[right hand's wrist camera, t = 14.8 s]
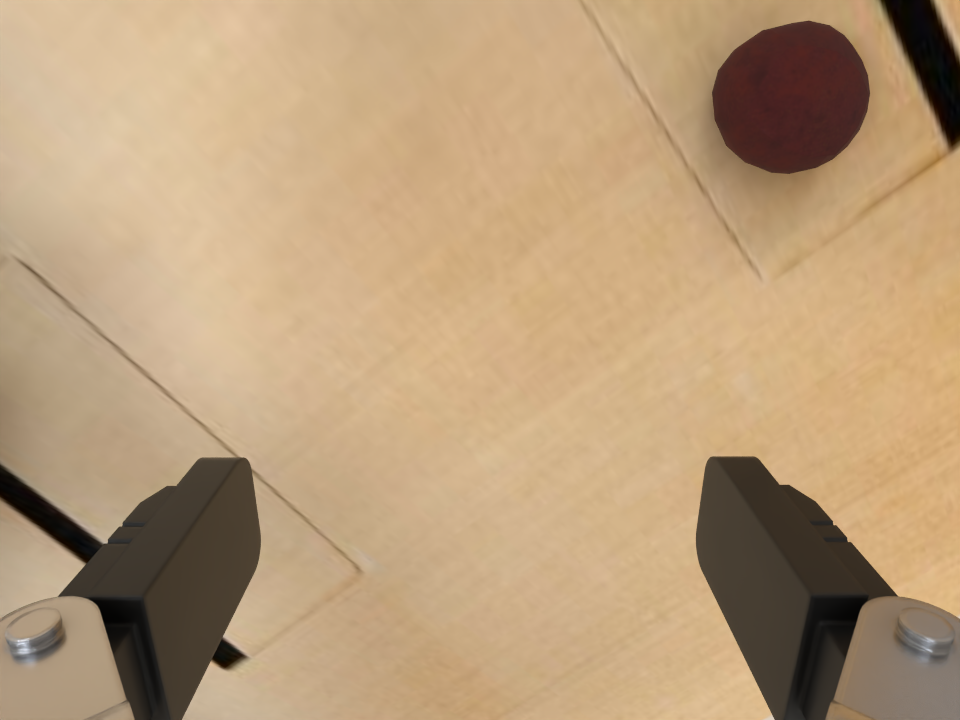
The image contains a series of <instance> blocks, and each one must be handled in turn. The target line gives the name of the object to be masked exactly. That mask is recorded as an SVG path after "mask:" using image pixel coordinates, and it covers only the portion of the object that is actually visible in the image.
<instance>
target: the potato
mask: <svg viewBox="0 0 960 720" xmlns="http://www.w3.org/2000/svg"><path fill="white" fill-rule="evenodd" d="M712 95H713V105H714V116H715V121H716V123H717V126H718V128H719V130H720V132H721V135H722V137H723V139H724V141H725V144H726V146H727V147H729V148H730V149H731V150H732V151H733V152H734V153H735V154H736V155H737V156H739V157H740V158H741V159H742V160H743V161H744V162H746V163H748V164H751V165H754V166H757V167H759V168H762V169H764V170H766V171H769V172H772V173H786V174H790V173H795V172H799V171H804V170H808V169H812V168H816V167H818V166H820V165H822V164H824V163H826V162H828V161H830V160H832V159H833V158H835V157H836V156H837V155H838V154H839V153H840V152H841V151H843V150H844V149H845V148H846V147H847V146H848V145H849V143H850V142H851V141H852V139H853V138H854V137H855V135H856V134H857V133H858V131H859V130H860V127H861V125H862V122H863V120H864V118H865V115H866V113H867V109H868V102H869V96H870V90H869V81H868V75H867V72H866V69H865V67H864V64H863V62H862V59H861V58H860V56H859V55H858V53H857V52H856V50H855V48H854V47H853V45H852V44H851V43H850V42H849V41H848V39H847V38H846V37H845V36H844V35H843V34H842V33H840V32H839V31H837V30H836V29H834V28H833V27H831V26H830V25H825V24H821V23H816V22H812V21H804V22H797V23H791V24H787V25H783V26H779V27H775V28H771V29H767V30H763V31H761V32H760V33H758V34H757V35H755V36H754V37H752V38H751V39H749V40H748V41H747V42H745V43H744V44H742V45H741V46H739V47H738V48H737V49H735V50H734V51H733V52H732V53H731V55H730V56H729V57H728V59H727V60H726V61H725V63H724V64H723V65H722V66H721V68H720V69H719V70H718V73H717V77H716V81H715V84H714V88H713V92H712Z"/></svg>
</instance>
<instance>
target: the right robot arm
mask: <svg viewBox="0 0 960 720" xmlns="http://www.w3.org/2000/svg"><path fill="white" fill-rule="evenodd" d="M260 546H261V535H260V527H259V519H258V512H257V505H256V498H255V491H254V484H253V477H252V470H251V466H250V463H249V461H248V460H247V459H246V458H200V459H198V460H197V461H196V463H195V464H194V465H193V466H192V468H191V469H190V470H189V471H188V472H187V474H186V475H185V476H184V477H183V479H182V480H181V481H180V482H179V483H178V485H177V486H166V487H165V488H163V489H162V490H160V491H159V492H157V493H155V494H154V495H152V496H151V497H149V498H147V499H146V500H144V501H143V502H141V503H140V504H139V505H138V506H137V507H136V508H135V509H134V511H133V512H132V513H131V514H130V515H129V516H128V517H127V518H126V520H125V521H124V522H123V526H122V527H119V528H118V529H117V530H116V531H115V532H114V533H113V534H112V536H111V537H110V538H109V539H108V544H104V545H103V546H102V547H101V548H100V549H99V550H98V552H97V553H96V554H95V555H94V556H93V557H92V558H91V559H90V561H89V562H88V563H87V564H86V565H85V566H84V567H83V569H82V570H81V571H80V572H79V573H78V574H77V575H76V577H75V578H74V579H73V580H72V581H71V582H70V583H69V585H68V586H67V587H66V588H65V589H64V590H63V591H62V592H61V594H60V595H59V596H58V597H55V598H50V599H45V600H41V601H38V602H35V603H32V604H29V605H27V606H24V607H22V608H19V609H17V610H15V611H13V612H11V613H9V614H8V615H6V616H4V617H3V618H1V619H0V720H182V718H183V716H184V714H185V712H186V710H187V708H188V706H189V704H190V702H191V700H192V698H193V696H194V694H195V692H196V690H197V688H198V686H199V684H200V682H201V679H202V677H203V675H204V673H205V671H206V669H207V667H208V665H209V663H210V661H211V659H212V657H213V655H214V653H215V651H216V649H217V647H218V645H219V643H220V641H221V639H222V637H223V635H224V633H225V631H226V629H227V627H228V625H229V623H230V621H231V619H232V617H233V615H234V613H235V611H236V609H237V607H238V605H239V603H240V601H241V599H242V597H243V595H244V593H245V590H246V588H247V586H248V584H249V582H250V580H251V578H252V576H253V574H254V572H255V570H256V567H257V564H258V560H259V555H260ZM696 549H697V556H698V560H699V564H700V567H701V570H702V572H703V574H704V576H705V578H706V580H707V582H708V584H709V586H710V588H711V590H712V592H713V594H714V596H715V598H716V600H717V602H718V605H719V607H720V609H721V611H722V613H723V615H724V617H725V619H726V621H727V623H728V625H729V627H730V629H731V631H732V633H733V635H734V637H735V639H736V641H737V643H738V645H739V648H740V650H741V652H742V654H743V656H744V658H745V660H746V662H747V664H748V666H749V668H750V670H751V672H752V674H753V676H754V678H755V680H756V682H757V684H758V686H759V688H760V691H761V693H762V695H763V697H764V699H765V701H766V703H767V705H768V707H769V709H770V711H771V713H772V715H773V717H774V719H775V720H960V619H959V618H957V617H956V616H954V615H952V614H951V613H949V612H947V611H945V610H943V609H941V608H938V607H936V606H933V605H931V604H928V603H925V602H922V601H919V600H915V599H910V598H905V597H898V596H897V595H896V593H895V592H894V591H893V590H892V589H891V588H890V586H889V585H888V584H887V583H886V582H885V581H884V580H883V578H882V577H881V576H880V575H879V574H878V573H877V572H876V570H875V569H874V568H873V567H872V566H871V565H870V563H869V562H868V561H867V560H866V559H865V558H864V557H863V555H862V554H861V553H860V552H859V551H858V550H857V549H856V547H855V546H854V545H853V544H852V543H851V542H848V541H847V537H846V536H845V535H844V534H843V532H842V531H841V530H840V529H839V528H838V527H837V526H836V525H833V521H832V520H831V519H830V518H829V516H828V515H827V514H826V513H825V512H824V511H823V510H822V508H821V507H820V506H819V505H818V504H817V503H816V502H815V501H814V500H812V499H811V498H809V497H807V496H806V495H804V494H803V493H801V492H799V491H798V490H796V489H795V488H793V487H791V486H790V485H779V484H778V482H777V481H776V480H775V479H774V477H773V476H772V475H771V474H770V472H769V471H768V470H767V469H766V468H765V466H764V465H763V464H762V463H761V461H760V460H759V459H758V458H756V457H710V458H709V460H708V461H707V464H706V467H705V473H704V480H703V487H702V494H701V501H700V509H699V516H698V523H697V531H696Z"/></svg>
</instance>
